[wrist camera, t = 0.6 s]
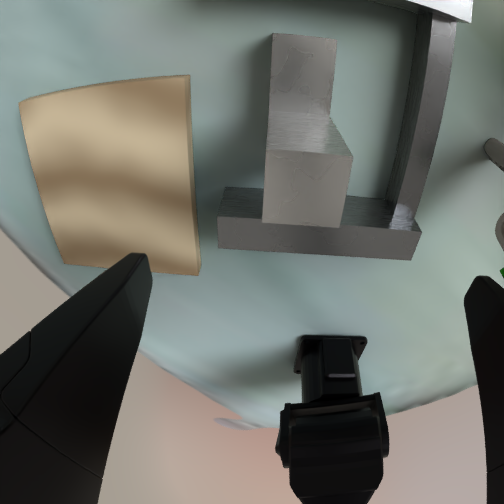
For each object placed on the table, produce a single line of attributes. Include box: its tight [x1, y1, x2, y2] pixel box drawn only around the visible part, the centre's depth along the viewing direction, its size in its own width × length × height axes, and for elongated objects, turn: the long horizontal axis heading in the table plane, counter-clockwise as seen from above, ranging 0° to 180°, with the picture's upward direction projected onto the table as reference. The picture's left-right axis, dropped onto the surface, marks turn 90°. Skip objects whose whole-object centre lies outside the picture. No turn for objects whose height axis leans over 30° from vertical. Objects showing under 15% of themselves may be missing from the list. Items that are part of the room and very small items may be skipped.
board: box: [19, 75, 201, 276], centre depth 20 cm, size 14×12×1 cm
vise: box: [217, 0, 473, 260], centre depth 15 cm, size 17×12×4 cm
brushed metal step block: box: [262, 33, 353, 228], centre depth 13 cm, size 7×3×8 cm, turn 178°
